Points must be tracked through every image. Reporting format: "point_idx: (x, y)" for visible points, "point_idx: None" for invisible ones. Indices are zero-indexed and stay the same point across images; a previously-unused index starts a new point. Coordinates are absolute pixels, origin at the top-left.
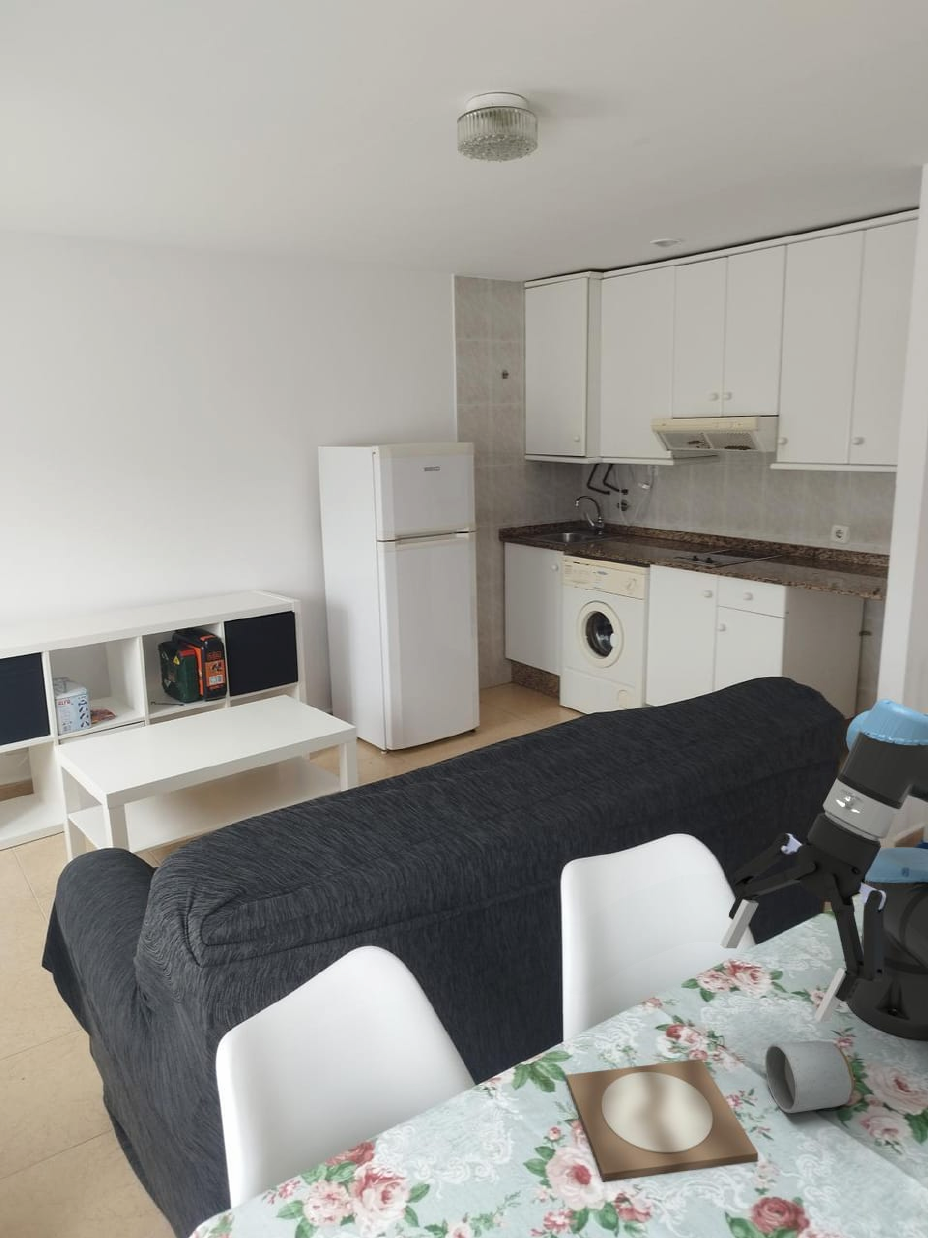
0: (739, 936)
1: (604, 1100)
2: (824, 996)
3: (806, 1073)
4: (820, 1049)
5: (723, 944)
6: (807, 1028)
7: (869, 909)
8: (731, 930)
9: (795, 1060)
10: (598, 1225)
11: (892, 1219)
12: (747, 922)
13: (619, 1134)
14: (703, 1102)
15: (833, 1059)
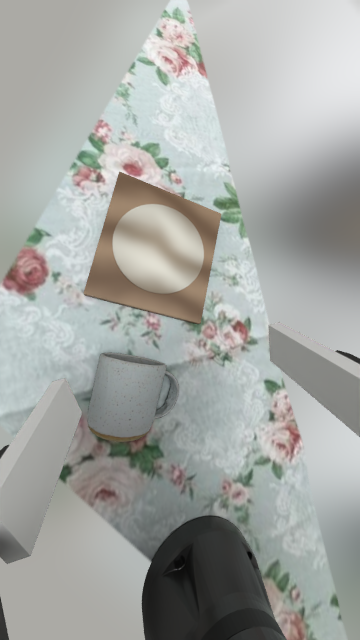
0: (286, 365)
1: (185, 218)
2: (43, 413)
3: (104, 372)
4: (122, 411)
5: (277, 324)
6: (205, 451)
7: None
8: (298, 338)
9: (117, 367)
10: (84, 149)
11: None
12: (312, 389)
13: (148, 204)
14: (152, 288)
15: (105, 418)
